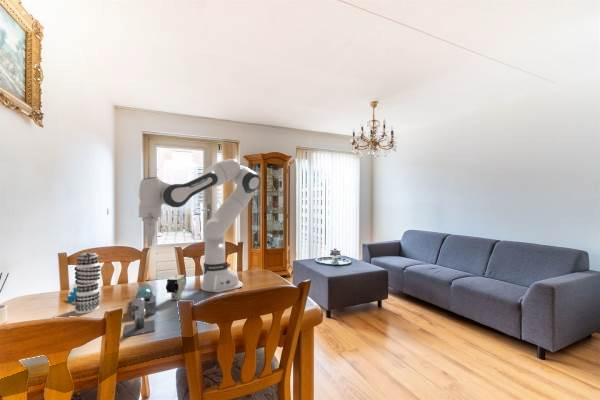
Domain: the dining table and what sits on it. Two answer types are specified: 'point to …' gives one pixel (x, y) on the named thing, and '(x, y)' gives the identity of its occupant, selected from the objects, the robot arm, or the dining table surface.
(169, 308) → the dining table surface
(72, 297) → the gear
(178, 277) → the pneumatic valve
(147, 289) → the grey base teal knob
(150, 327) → the mat
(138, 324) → the chuck key
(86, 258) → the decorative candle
